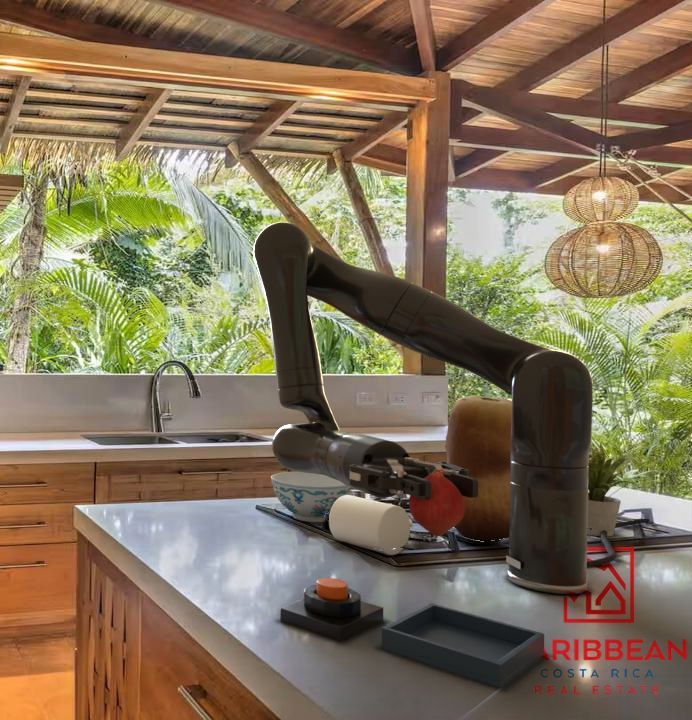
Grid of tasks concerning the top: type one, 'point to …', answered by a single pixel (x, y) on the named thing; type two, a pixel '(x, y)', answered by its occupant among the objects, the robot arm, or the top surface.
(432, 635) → the tray
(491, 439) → the butternut squash
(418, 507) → the onion
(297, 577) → the top surface
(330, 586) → the button
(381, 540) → the mug
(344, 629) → the panel
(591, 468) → the house plant
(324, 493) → the chinaware
